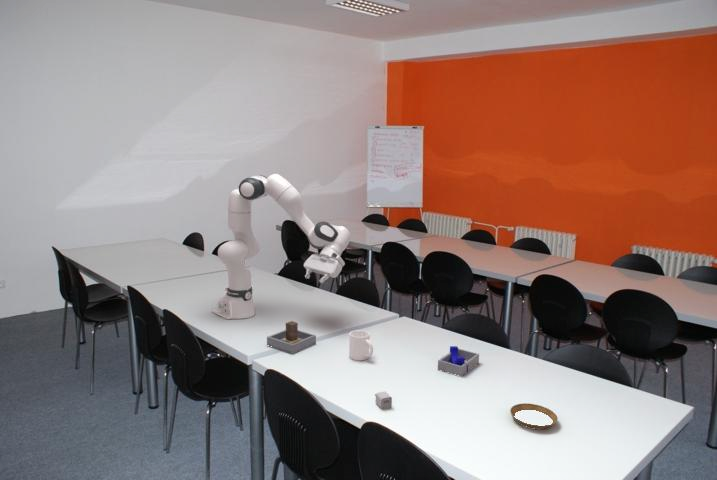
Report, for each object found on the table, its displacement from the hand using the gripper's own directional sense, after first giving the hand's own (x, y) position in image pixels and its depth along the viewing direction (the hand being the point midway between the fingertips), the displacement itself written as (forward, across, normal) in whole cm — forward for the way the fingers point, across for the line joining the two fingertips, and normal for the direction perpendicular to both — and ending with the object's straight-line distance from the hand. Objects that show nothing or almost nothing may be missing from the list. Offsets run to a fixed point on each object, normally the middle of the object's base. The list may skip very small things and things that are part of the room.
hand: (313, 280), depth 248 cm
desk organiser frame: (+7, +71, +26) cm, 76 cm away
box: (+30, +7, +4) cm, 32 cm away
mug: (+22, +38, +12) cm, 46 cm away
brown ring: (+21, +111, +12) cm, 114 cm away
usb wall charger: (+40, +68, -6) cm, 79 cm away
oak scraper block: (+30, +6, +4) cm, 31 cm away
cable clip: (+7, +71, +26) cm, 76 cm away
